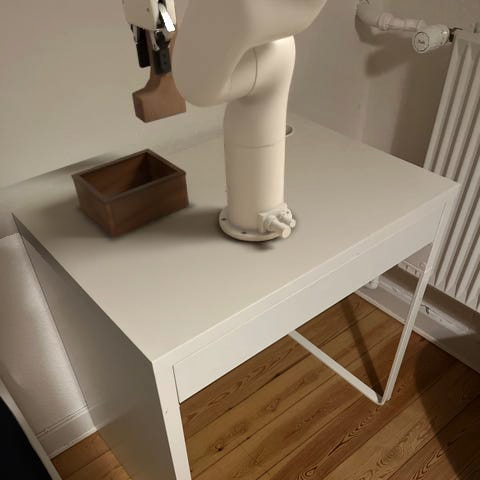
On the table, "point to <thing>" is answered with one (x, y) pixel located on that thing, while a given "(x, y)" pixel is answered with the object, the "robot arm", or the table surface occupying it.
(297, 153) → the table surface
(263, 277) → the table surface
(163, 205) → the wooden box
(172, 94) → the wooden block
